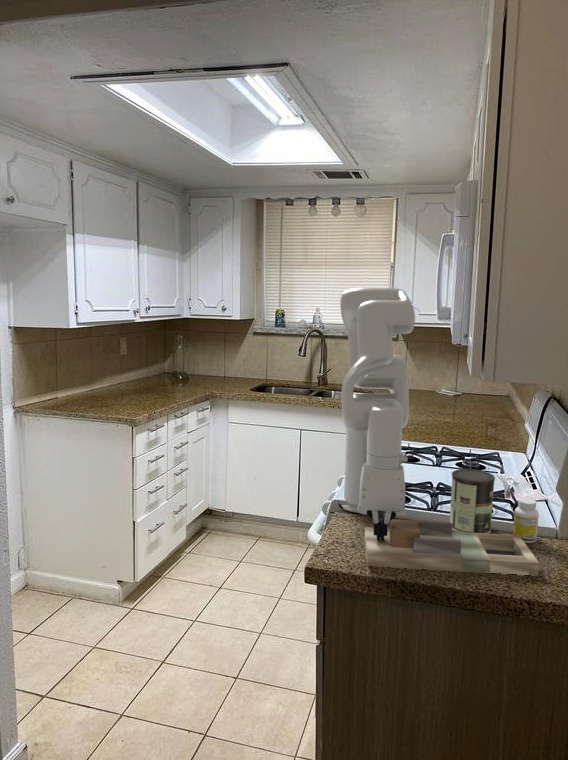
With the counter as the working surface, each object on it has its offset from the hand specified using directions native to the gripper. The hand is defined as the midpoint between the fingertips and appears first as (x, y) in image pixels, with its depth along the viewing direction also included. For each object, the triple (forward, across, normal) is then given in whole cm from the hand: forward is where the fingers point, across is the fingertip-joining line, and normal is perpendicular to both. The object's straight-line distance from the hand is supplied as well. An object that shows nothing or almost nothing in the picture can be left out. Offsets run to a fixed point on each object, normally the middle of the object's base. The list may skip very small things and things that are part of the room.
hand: (380, 538), depth 132 cm
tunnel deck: (+4, -15, 0) cm, 15 cm away
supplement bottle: (+4, -36, -13) cm, 38 cm away
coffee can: (+4, -24, -17) cm, 30 cm away
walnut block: (+1, -5, 0) cm, 5 cm away
